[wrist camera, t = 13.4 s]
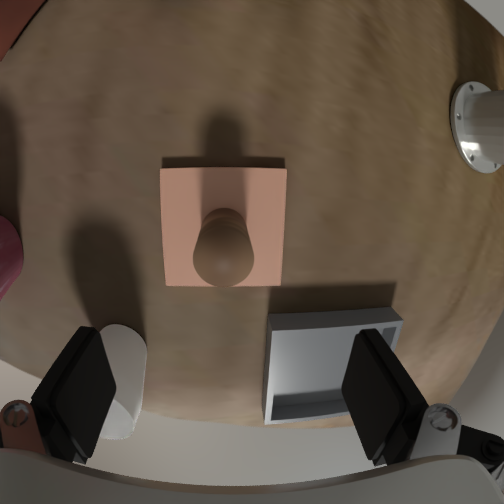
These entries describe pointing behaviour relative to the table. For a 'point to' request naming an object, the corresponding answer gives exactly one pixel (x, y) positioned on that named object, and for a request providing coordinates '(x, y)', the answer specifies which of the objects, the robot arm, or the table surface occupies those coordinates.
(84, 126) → the table surface
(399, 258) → the table surface
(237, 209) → the terracotta board
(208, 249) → the walnut peg
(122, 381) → the cup
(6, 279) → the plant pot
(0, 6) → the potted plant
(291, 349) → the bin
